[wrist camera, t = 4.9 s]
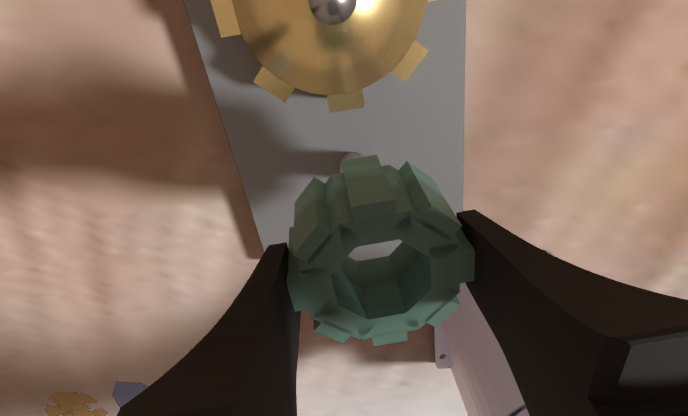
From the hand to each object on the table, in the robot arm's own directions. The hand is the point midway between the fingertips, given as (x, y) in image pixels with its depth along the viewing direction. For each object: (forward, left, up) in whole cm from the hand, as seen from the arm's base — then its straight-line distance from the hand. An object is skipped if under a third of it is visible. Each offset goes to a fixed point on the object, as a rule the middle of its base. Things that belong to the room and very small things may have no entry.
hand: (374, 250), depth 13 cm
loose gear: (0, 0, -1) cm, 1 cm away
